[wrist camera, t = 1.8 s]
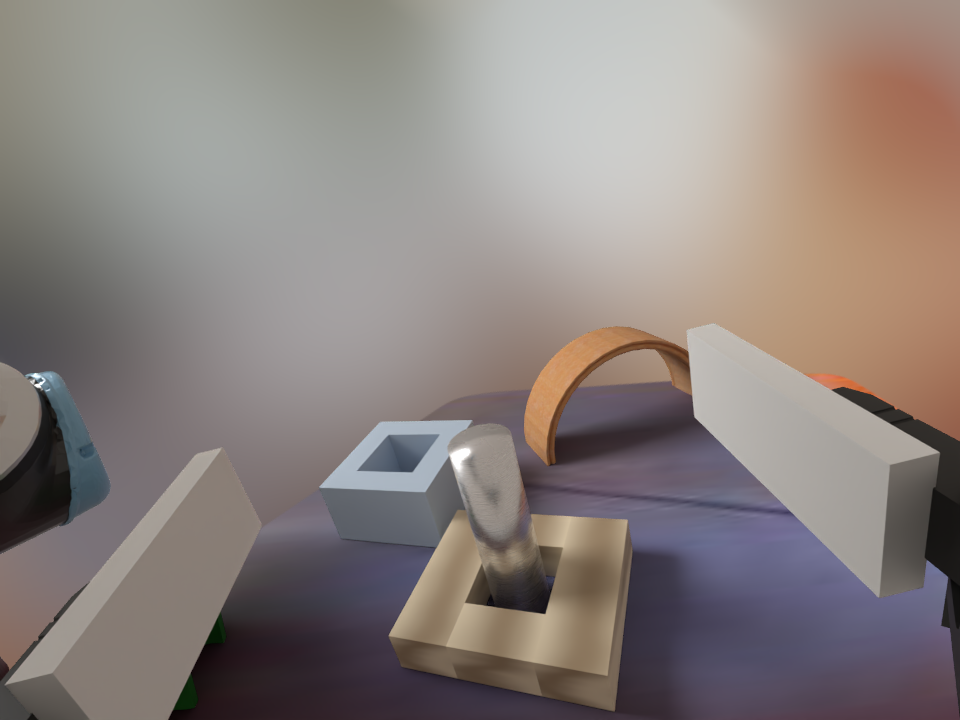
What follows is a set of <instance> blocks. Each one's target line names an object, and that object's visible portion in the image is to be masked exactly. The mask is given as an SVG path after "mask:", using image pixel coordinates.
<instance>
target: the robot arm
mask: <svg viewBox="0 0 960 720" xmlns="http://www.w3.org/2000/svg"><path fill="white" fill-rule="evenodd" d="M687 340H688V351H689V363H690V374H691V385H692V396H693V407H694V417H695V418H696V419H697V420H698V421H699V422H700V423H701V424H702V425H703V426H704V427H705V428H706V429H707V430H708V431H709V432H710V433H711V434H712V435H713V436H714V437H715V438H716V439H717V440H718V441H720V442H721V443H722V444H723V445H724V446H725V447H726V448H727V449H728V450H729V451H730V452H731V453H732V454H733V455H734V456H735V457H736V458H737V459H738V460H739V461H740V462H741V463H742V464H743V465H744V466H745V467H746V468H747V469H748V470H749V471H750V472H751V473H752V474H753V475H754V476H755V477H756V478H757V479H758V480H759V481H760V482H761V483H762V484H763V485H764V486H765V487H766V488H767V489H768V490H769V491H770V492H771V493H773V494H774V495H775V496H776V497H777V498H778V499H779V500H780V501H781V502H782V503H783V504H784V505H785V506H786V507H787V508H788V509H789V510H790V511H791V512H792V513H793V514H794V515H795V516H796V517H797V518H798V519H799V520H800V521H801V522H802V523H803V524H804V525H805V526H806V527H807V528H808V529H809V530H810V531H811V532H812V533H813V534H814V535H815V536H816V537H817V538H818V539H819V540H820V541H821V542H822V543H823V544H824V545H826V546H827V547H828V548H829V549H830V550H831V551H832V552H833V553H834V554H835V555H836V556H837V557H838V558H839V559H840V560H841V561H842V562H843V563H844V564H845V565H846V566H847V567H848V568H849V569H850V570H851V571H852V572H853V573H854V574H855V575H856V576H857V577H858V578H859V579H860V580H861V581H862V582H863V583H864V584H865V585H866V586H867V587H868V588H869V589H870V590H871V591H872V592H873V593H874V594H875V595H876V596H877V597H879V598H882V597H886V596H890V595H894V594H898V593H902V592H906V591H910V590H914V589H919V588H923V585H924V577H925V569H926V561H927V560H928V561H929V562H930V563H932V564H933V565H934V566H935V567H937V568H938V569H939V570H940V571H942V572H943V573H944V574H945V575H947V576H948V584H947V591H946V598H945V604H944V611H943V618H942V625H941V626H944V627H948V628H950V632H951V641H952V651H953V660H954V669H955V678H956V688H957V697H958V706H959V715H960V441H958V440H956V439H954V438H952V437H950V436H948V435H947V434H945V433H943V432H941V431H939V430H937V429H935V428H933V427H931V426H930V425H928V424H926V423H924V422H922V421H920V420H918V419H917V420H914V419H913V416H911V415H909V414H907V413H905V412H903V411H901V410H899V409H897V410H895V408H894V406H892V405H890V404H888V403H886V402H884V401H882V400H881V399H879V398H877V397H875V396H873V395H871V394H867V393H863V392H860V391H856V390H852V389H849V388H845V387H841V388H837V389H833V390H830V389H828V388H827V387H825V386H823V385H821V384H820V383H818V382H816V381H814V380H813V379H811V378H809V377H807V376H806V375H804V374H802V373H800V372H798V371H797V370H795V369H793V368H792V367H790V366H788V365H786V364H784V363H783V362H781V361H779V360H778V359H776V358H774V357H772V356H771V355H769V354H767V353H765V352H763V351H762V350H760V349H758V348H757V347H755V346H753V345H751V344H750V343H748V342H746V341H744V340H743V339H741V338H739V337H737V336H736V335H734V334H732V333H731V332H729V331H727V330H725V329H723V328H722V327H720V326H718V325H717V324H715V323H712V324H708V325H705V326H700V327H697V328H692V329H689V330H687ZM110 487H111V485H110V480H109V477H108V475H107V472H106V470H105V467H104V465H103V463H102V461H101V458H100V456H99V454H98V452H97V450H96V448H95V447H94V444H93V441H92V439H91V437H90V435H89V432H88V430H87V428H86V425H85V423H84V421H83V419H82V417H81V415H80V413H79V411H78V409H77V407H76V404H75V402H74V400H73V398H72V396H71V394H70V393H69V390H68V388H67V387H66V385H65V383H64V381H63V379H62V378H61V377H60V376H59V375H58V374H57V373H55V372H52V371H47V372H43V373H38V374H37V373H32V374H28V375H25V376H23V375H22V374H21V373H20V372H19V371H17V370H15V369H14V368H12V367H10V366H8V365H6V364H3V363H1V362H0V554H2V553H4V552H6V551H8V550H10V549H12V548H14V547H16V546H18V545H20V544H22V543H24V542H26V541H28V540H30V539H32V538H35V537H37V536H39V535H40V534H43V533H45V532H47V531H49V530H51V529H53V528H55V527H57V526H64V525H67V524H69V523H70V522H71V521H73V519H74V518H75V517H77V516H79V515H80V514H82V513H84V512H86V511H88V510H89V509H91V508H93V507H95V506H97V505H99V504H100V503H101V502H102V501H104V500H105V499H106V497H107V496H108V494H109V492H110ZM261 527H262V524H261V522H260V520H259V518H258V516H257V514H256V512H255V510H254V508H253V506H252V504H251V502H250V500H249V498H248V496H247V494H246V492H245V490H244V488H243V486H242V485H241V482H240V481H239V478H238V476H237V475H236V472H235V470H234V469H233V466H232V464H231V463H230V461H229V459H228V457H227V455H226V453H225V451H224V449H223V448H219V449H215V450H211V451H207V452H203V453H199V454H196V455H195V456H194V457H193V459H192V460H191V461H190V462H189V463H188V465H187V466H186V467H185V468H184V470H183V471H182V472H181V473H180V474H179V476H178V477H177V478H176V479H175V481H174V482H173V483H172V484H171V485H170V486H169V488H168V489H167V490H166V491H165V492H164V494H163V495H162V496H161V497H160V498H159V500H158V501H157V502H156V503H155V504H154V506H153V507H152V508H151V510H149V512H148V513H147V514H146V515H145V517H144V518H143V519H142V520H141V521H140V522H139V524H138V525H137V526H136V527H135V529H134V530H133V531H132V532H131V534H130V535H129V536H128V537H127V538H126V539H125V541H124V542H123V543H122V544H121V545H120V547H119V548H118V549H117V550H116V551H115V553H114V554H113V555H112V556H111V557H110V559H109V560H108V561H107V562H106V563H105V565H104V566H103V567H102V568H101V569H100V571H99V572H98V573H97V574H96V575H95V577H94V578H93V579H92V580H91V581H90V582H89V583H88V584H86V585H85V586H84V587H83V588H82V589H80V590H79V591H78V592H77V593H76V594H75V595H74V596H72V597H71V598H70V600H69V601H68V602H67V603H66V604H65V605H64V607H63V608H62V609H61V610H60V611H59V613H58V614H57V615H56V616H55V617H54V622H52V623H49V624H48V626H47V627H46V628H45V629H44V630H43V632H42V633H41V634H40V635H39V636H38V638H39V639H38V641H34V642H33V644H32V645H31V646H30V647H29V648H28V649H27V651H26V652H25V653H24V654H23V655H22V656H21V658H20V659H19V660H18V661H17V662H16V664H15V665H14V666H13V667H12V668H11V669H10V671H9V667H8V666H7V664H6V663H5V662H4V661H3V659H1V657H0V720H168V719H169V717H170V715H171V712H172V710H173V708H174V706H175V704H176V702H177V700H178V698H179V696H180V694H181V692H182V690H183V688H184V686H185V684H186V681H187V679H188V677H189V675H190V673H191V671H192V669H193V667H194V665H195V663H196V661H197V659H198V657H199V655H200V653H201V651H202V648H203V646H204V644H205V642H206V640H207V638H208V636H209V634H210V632H211V630H212V628H213V626H214V624H215V622H216V620H217V618H218V615H219V613H220V611H221V609H222V607H223V605H224V603H225V601H226V599H227V597H228V595H229V593H230V591H231V589H232V587H233V584H234V582H235V580H236V578H237V576H238V574H239V572H240V570H241V568H242V566H243V564H244V562H245V560H246V558H247V556H248V554H249V551H250V549H251V547H252V545H253V543H254V541H255V539H256V537H257V535H258V533H259V531H260V529H261Z"/></svg>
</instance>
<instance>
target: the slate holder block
mask: <svg viewBox="0 0 960 720" xmlns="http://www.w3.org/2000/svg"><path fill="white" fill-rule="evenodd" d="M473 426H474V424H473V421H472V420H455V421H411V422H410V421H407V422H406V421H405V422H380V423H379V424H378V425H377V426H376V427H375V428H374V429H373V430H372V431H371V432H370V433H369V435H368V436H367V437H366V438H365V439H364V440H363V441H362V442H361V443H360V444H359V445H358V446H357V447H356V448H355V449H354V451H353V452H352V453H351V454H350V455H349V456H348V457H347V458H346V459H345V460H344V461H343V462H342V463H341V464H340V465H339V467H338V468H337V469H336V470H335V471H334V472H333V473H332V474H331V475H330V476H329V477H328V478H327V480H325V481H324V483H323V484H322V485H321V486H320V487H319V489H320V491H321V494H322V496H323V498H324V500H325V503H326V505H327V507H328V510H329V512H330V514H331V517H332V519H333V521H334V524H335V526H336V528H337V530H338V533H339V535H340V537H341V539H351V540H361V541H372V542H382V543H393V544H403V545H414V546H424V547H435V548H437V546H438V545H439V543H440V541H441V539H442V537H443V535H444V534H445V532H446V530H447V528H448V526H449V525H450V523H451V521H452V519H453V517H454V515H455V514H456V512H457V510H465V506H464V503H463V500H462V496H461V493H460V490H459V486H458V483H457V480H456V477H455V473H454V470H453V467H452V463H451V460H450V457H449V454H448V450H447V448H448V444H449V442H450V441H451V439H452V438H453V437H454V436H455V435H457V434H458V433H460V432H461V431H463V430H465V429H467V428H470V427H473Z"/></svg>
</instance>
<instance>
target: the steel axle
mask: <svg viewBox="0 0 960 720" xmlns="http://www.w3.org/2000/svg"><path fill="white" fill-rule="evenodd" d="M447 450H448V454H449V457H450V460H451V463H452V467H453V470H454V473H455V477H456V480H457V483H458V486H459V490H460V493H461V496H462V500H463V503H464V506H465V509H466V513H467V516H468V519H469V522H470V526H471V529H472V532H473V536H474V539H475V542H476V545H477V549H478V552H479V555H480V558H481V562H482V565H483V568H484V572H485V575H486V578H487V581H488V585H489V588H490V591H491V594H492V598H493V601H494V604H495V607H497V608H504V609H511V610H518V611H525V612H533V613H540V614H546V611H547V607H548V603H549V599H550V596H551V595H550V591H549V587H548V583H547V579H546V575H545V571H544V566H543V562H542V558H541V554H540V550H539V546H538V542H537V538H536V534H535V530H534V526H533V522H532V518H531V513H530V509H529V505H528V501H527V497H526V493H525V489H524V485H523V481H522V477H521V473H520V469H519V465H518V460H517V456H516V452H515V448H514V444H513V440H512V436H511V432H510V431H509V429H508V428H506V427H505V426H502V425H499V424H481V425H476V426H473V427H470V428H467V429H465V430H463V431H461V432H460V433H458V434H457V435H455V436H454V437H453V438H452V439H451V441H450V442H449V444H448V448H447Z"/></svg>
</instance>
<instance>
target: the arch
mask: <svg viewBox="0 0 960 720" xmlns="http://www.w3.org/2000/svg"><path fill="white" fill-rule="evenodd" d="M640 349H655V350H656V351H658V353H659V354H660V355H661V357H662V358H663V359H664V361H665V363H666V365H667V367H668V369H669V371H670V375H671V378H672V385H673V386H675V387H676V388H678V389H680V390H682V391H684V392H686V393H688V394H690V395H692V385H691V374H690V363H689V352H688V351H687V350H685V349H683V348H681V347H679V346H677V345H676V344H673V343H671V342H668V341H666V340H663V339H661V338H658V337H656V336H654V335H651V334H649V333H646V332H644V331H641V330H637V329H634V328H630V327H608V328H602V329H599V330H595V331H592V332H589V333H587V334H585V335H583V336H581V337H579V338H577V339H575V340H573V341H572V342H571V343H569V344H568V345H566V346H565V347H564V348H562V349H561V350H560V351H559V352H558V353H557V354H556V355H555V356H554V357H553V358H552V359H551V360H550V362H549V363H548V364H547V365H546V366H545V368H544V369H543V371H542V372H541V373H540V375H539V377H538V379H537V381H536V382H535V384H534V386H533V388H532V391H531V393H530V396H529V399H528V402H527V407H526V412H525V422H524V431H525V438H526V442H527V443H528V444H529V445H530V447H531V448H532V449H533V450H534V451H535V452H536V453H537V454H538V456H539V457H540V458H541V459H542V460H543V461H544V462H545V463H546V465H547V466H550V463H551V464H554V463H556V459H555V452H554V446H555V435H556V430H557V426H558V422H559V419H560V417H561V414H562V412H563V409H564V407H565V405H566V404H567V402H568V400H569V398H570V397H571V395H572V393H573V392H574V391H575V390H576V388H577V387H578V386H579V384H580V383H581V382H582V381H583V380H584V379H585V378H586V377H587V376H588V375H589V374H590V373H591V372H592V371H593V370H595V369H596V368H597V367H599V366H600V365H602V364H603V363H604V362H606V361H608V360H610V359H612V358H613V357H616V356H617V355H620V354H623V353H626V352H629V351H633V350H640Z"/></svg>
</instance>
